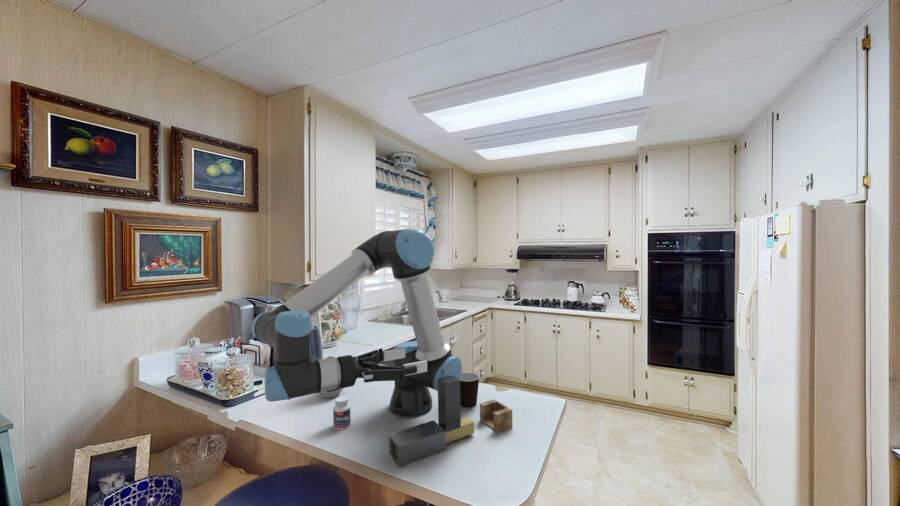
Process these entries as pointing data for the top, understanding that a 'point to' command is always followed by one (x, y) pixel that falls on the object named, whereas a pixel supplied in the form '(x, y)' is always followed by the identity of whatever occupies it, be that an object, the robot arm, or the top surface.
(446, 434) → the grey yellow upright-t piece
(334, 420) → the pill bottle
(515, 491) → the top surface
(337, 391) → the black egg shape
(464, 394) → the coffee mug
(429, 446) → the sleeve
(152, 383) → the top surface
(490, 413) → the open wooden box
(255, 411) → the top surface
